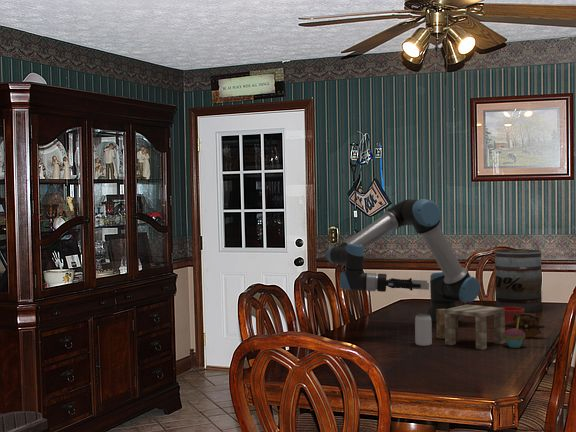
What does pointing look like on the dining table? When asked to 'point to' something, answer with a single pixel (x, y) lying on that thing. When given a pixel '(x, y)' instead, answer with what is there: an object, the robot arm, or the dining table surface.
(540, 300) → the barrel
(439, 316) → the gate leg
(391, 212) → the robot arm
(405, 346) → the dining table surface
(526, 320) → the wooden carving
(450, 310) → the stool
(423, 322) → the can
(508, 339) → the cupcake
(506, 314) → the flower pot
